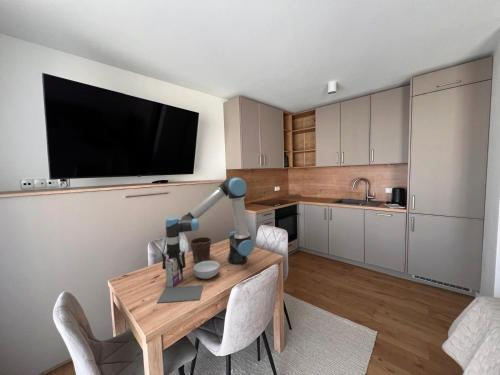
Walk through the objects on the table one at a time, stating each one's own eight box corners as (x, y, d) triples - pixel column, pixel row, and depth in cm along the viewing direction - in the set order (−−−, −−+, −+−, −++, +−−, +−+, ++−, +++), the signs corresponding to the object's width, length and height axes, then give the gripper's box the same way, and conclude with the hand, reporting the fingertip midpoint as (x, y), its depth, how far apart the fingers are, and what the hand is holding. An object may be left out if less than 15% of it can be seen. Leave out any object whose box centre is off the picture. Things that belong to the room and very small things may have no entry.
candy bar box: (176, 277, 133) (175, 253, 132) (183, 278, 132) (182, 253, 131) (165, 287, 123) (164, 260, 121) (173, 288, 122) (172, 261, 120)
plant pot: (187, 264, 152) (186, 243, 151) (195, 256, 168) (194, 236, 167) (208, 265, 150) (207, 244, 149) (214, 256, 166) (213, 237, 165)
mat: (202, 285, 123) (202, 284, 123) (199, 300, 109) (199, 299, 109) (165, 288, 121) (165, 287, 121) (156, 303, 107) (156, 302, 107)
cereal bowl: (223, 271, 142) (223, 261, 141) (214, 283, 125) (213, 272, 125) (200, 269, 145) (200, 259, 145) (188, 281, 129) (188, 270, 128)
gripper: (190, 240, 130) (191, 275, 132) (159, 241, 128) (161, 276, 130) (187, 244, 123) (189, 281, 124) (154, 245, 121) (156, 283, 123)
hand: (174, 278), depth 127 cm, fingers closed on candy bar box, 6 cm apart
